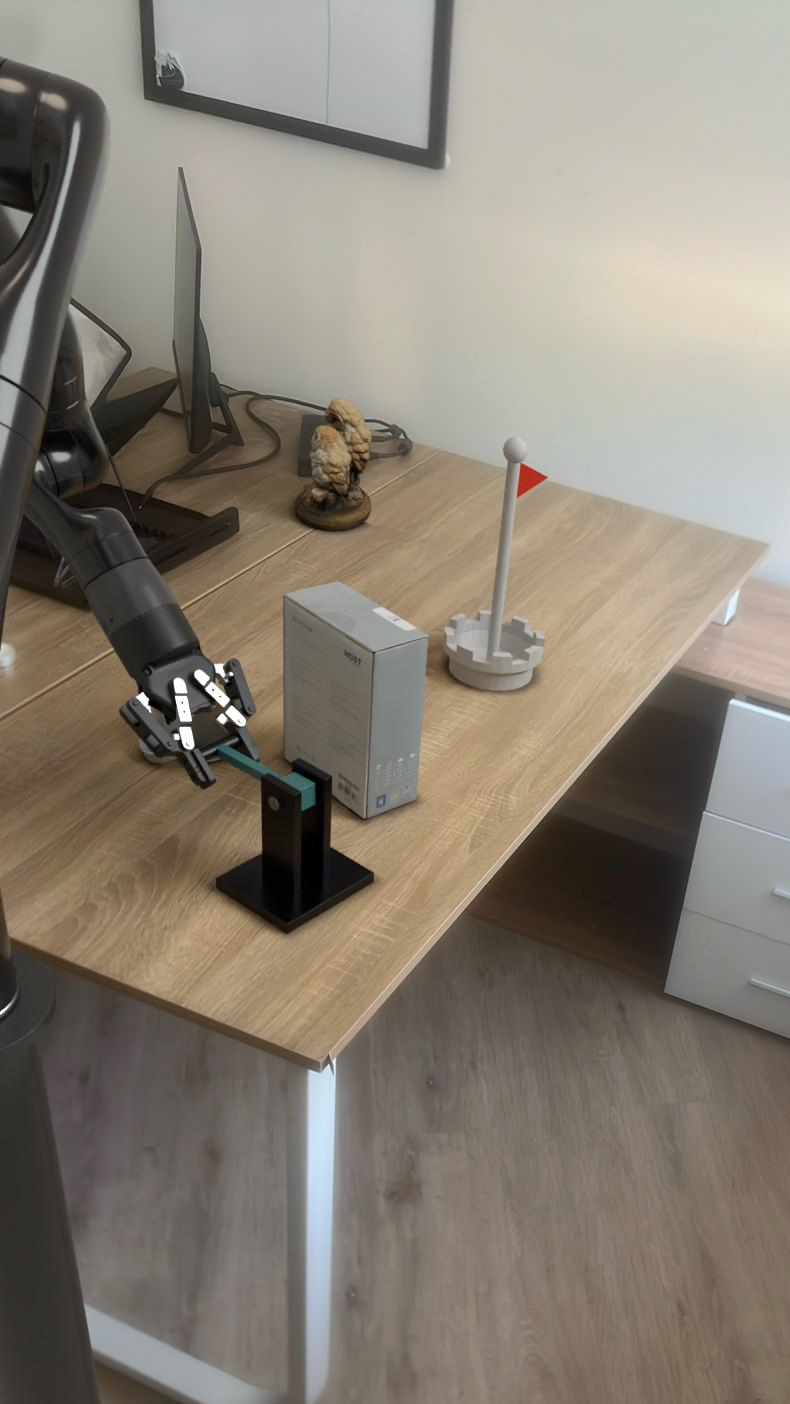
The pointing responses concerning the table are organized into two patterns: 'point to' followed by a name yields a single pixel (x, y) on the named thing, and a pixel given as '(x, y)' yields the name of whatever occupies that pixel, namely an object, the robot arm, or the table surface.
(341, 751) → the hard drive box
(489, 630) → the flag stand
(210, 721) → the ceramic mug
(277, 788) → the switch bracket
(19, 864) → the table surface
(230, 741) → the switch lever
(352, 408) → the owl figurine
